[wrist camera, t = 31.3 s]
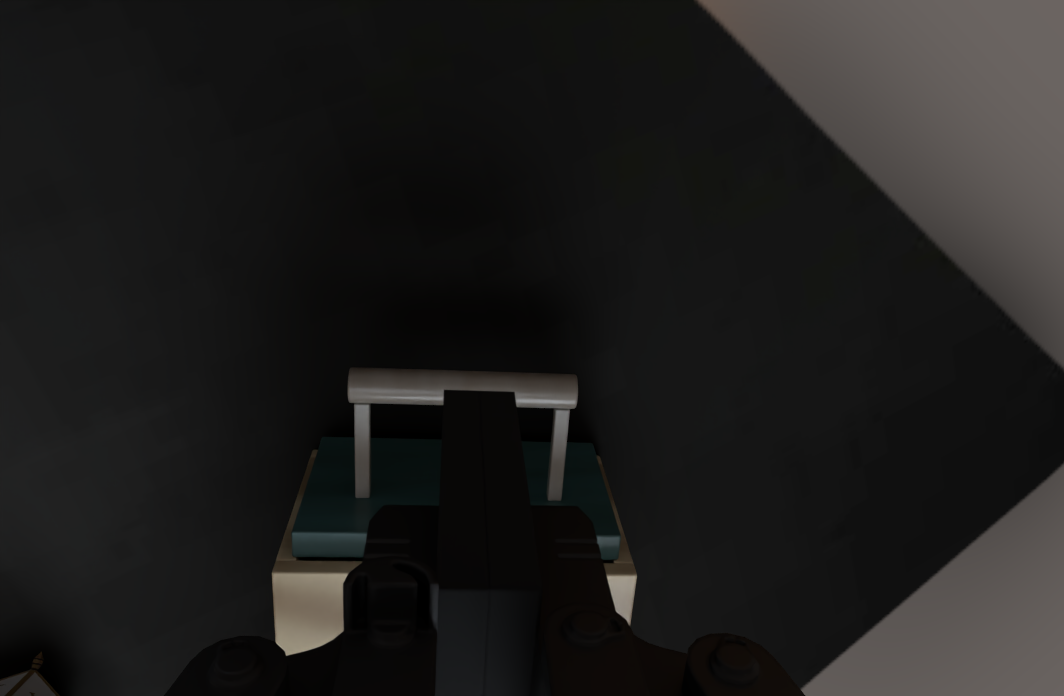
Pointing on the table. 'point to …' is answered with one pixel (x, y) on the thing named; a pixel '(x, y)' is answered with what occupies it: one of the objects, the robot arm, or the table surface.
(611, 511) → the drawer
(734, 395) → the table surface
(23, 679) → the game die
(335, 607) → the cabinet
